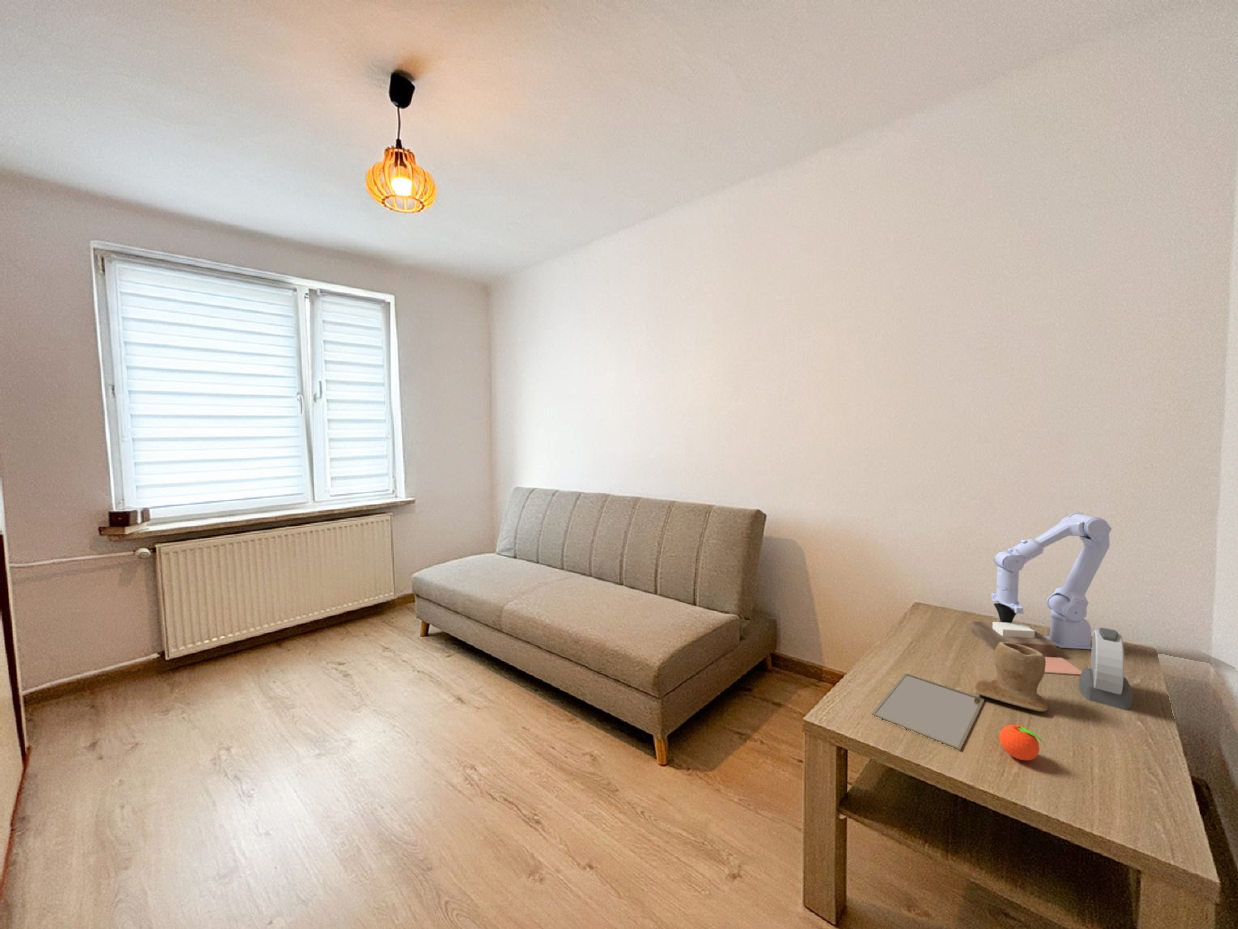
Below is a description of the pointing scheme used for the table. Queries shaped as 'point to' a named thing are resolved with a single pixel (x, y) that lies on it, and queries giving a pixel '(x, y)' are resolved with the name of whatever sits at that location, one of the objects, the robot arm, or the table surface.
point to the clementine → (1019, 742)
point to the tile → (1013, 630)
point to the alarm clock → (1106, 672)
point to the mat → (1060, 667)
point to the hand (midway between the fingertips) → (1005, 625)
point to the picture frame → (930, 710)
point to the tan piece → (1016, 677)
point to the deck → (1013, 639)
